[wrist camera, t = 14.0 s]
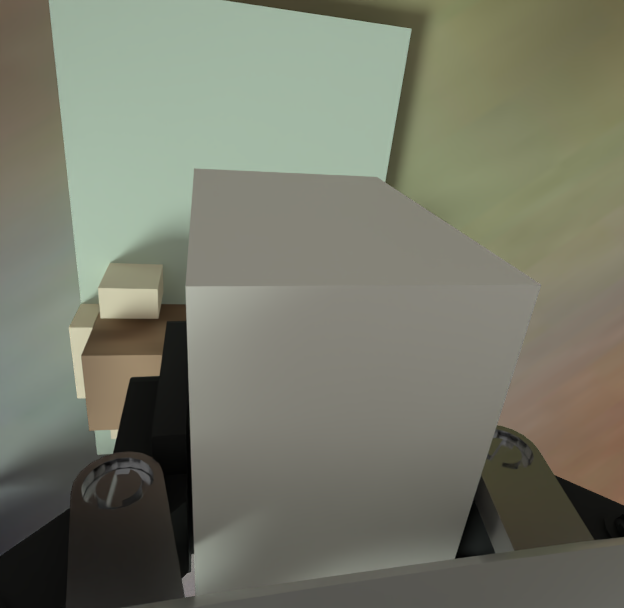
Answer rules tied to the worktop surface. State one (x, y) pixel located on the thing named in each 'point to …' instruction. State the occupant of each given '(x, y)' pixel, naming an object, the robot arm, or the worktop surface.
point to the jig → (201, 127)
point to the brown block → (121, 361)
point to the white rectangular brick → (337, 375)
